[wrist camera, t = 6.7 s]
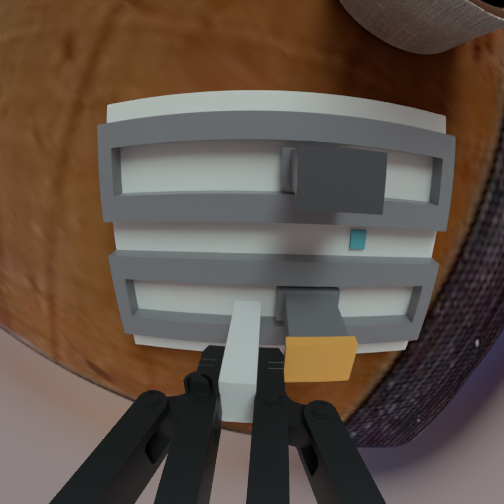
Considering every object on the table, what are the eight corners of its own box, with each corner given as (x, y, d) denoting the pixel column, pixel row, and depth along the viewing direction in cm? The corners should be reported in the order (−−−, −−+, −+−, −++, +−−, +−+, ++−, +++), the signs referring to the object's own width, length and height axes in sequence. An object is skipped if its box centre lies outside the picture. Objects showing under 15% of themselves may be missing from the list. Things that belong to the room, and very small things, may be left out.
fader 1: (281, 145, 16) (289, 144, 10) (350, 149, 15) (394, 153, 9) (280, 186, 16) (287, 210, 10) (348, 190, 16) (389, 215, 10)
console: (121, 107, 17) (97, 103, 14) (431, 117, 16) (455, 115, 13) (143, 329, 23) (130, 352, 20) (397, 335, 22) (410, 358, 19)
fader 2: (276, 283, 18) (279, 345, 13) (337, 284, 18) (364, 344, 12) (275, 315, 19) (276, 381, 13) (333, 315, 19) (353, 379, 13)
